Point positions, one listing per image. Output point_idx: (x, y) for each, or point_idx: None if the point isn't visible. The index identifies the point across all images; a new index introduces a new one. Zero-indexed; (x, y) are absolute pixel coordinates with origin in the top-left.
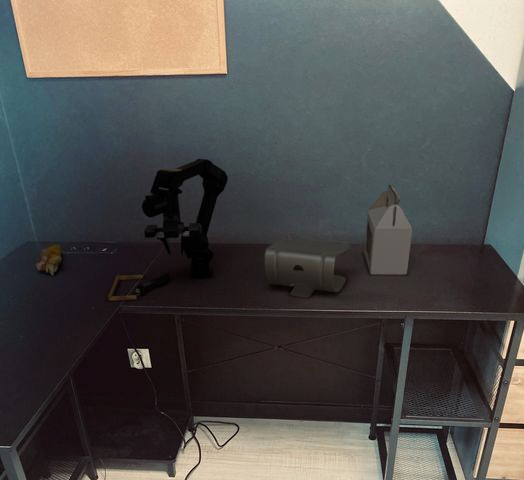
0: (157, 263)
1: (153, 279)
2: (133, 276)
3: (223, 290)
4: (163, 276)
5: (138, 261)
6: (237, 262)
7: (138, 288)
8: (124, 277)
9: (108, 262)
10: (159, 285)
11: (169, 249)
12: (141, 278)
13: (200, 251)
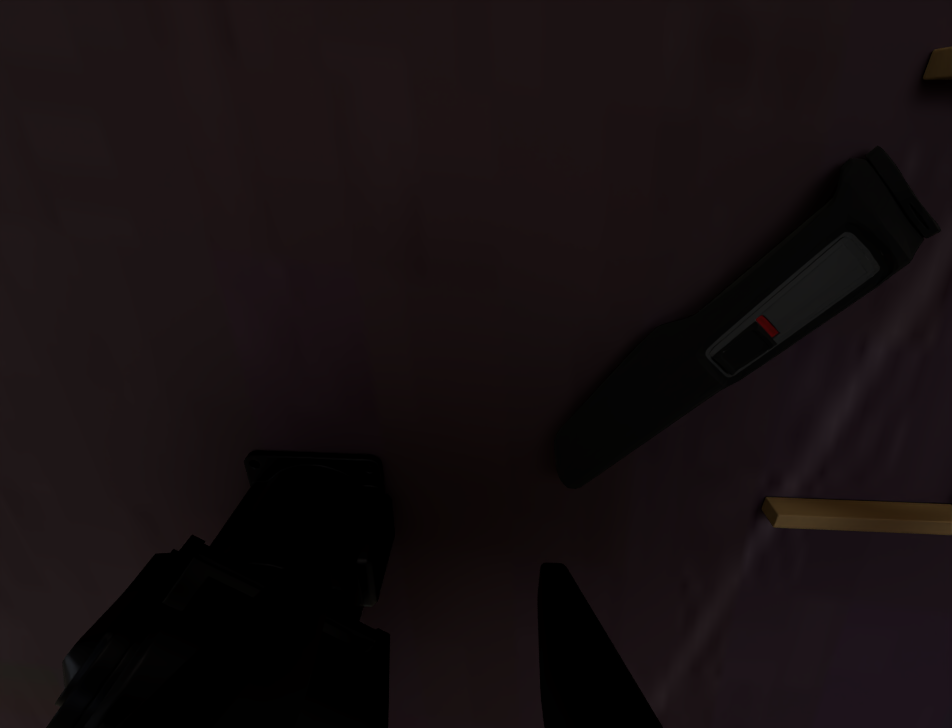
0: (635, 673)
1: (720, 378)
2: (852, 515)
3: (48, 174)
4: (616, 431)
5: (750, 708)
6: None
7: (916, 199)
8: (924, 514)
9: (940, 723)
10: (653, 331)
11: (556, 681)
12: (778, 497)
13: (127, 649)
